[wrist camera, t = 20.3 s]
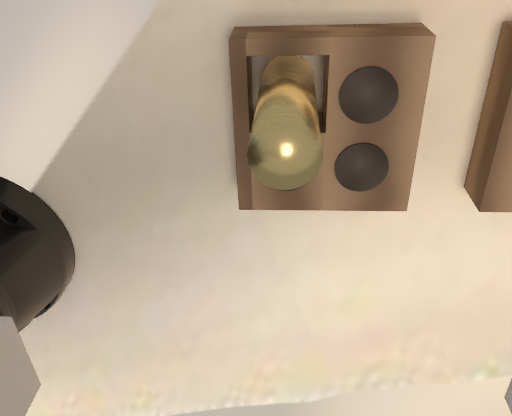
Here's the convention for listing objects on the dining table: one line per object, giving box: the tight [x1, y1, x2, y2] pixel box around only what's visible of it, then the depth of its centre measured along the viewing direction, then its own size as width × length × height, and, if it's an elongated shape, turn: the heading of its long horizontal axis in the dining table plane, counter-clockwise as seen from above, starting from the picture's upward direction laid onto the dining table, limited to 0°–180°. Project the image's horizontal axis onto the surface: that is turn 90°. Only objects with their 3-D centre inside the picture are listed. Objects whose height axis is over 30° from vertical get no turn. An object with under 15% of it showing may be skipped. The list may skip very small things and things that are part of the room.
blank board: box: [229, 23, 436, 211], centre depth 32 cm, size 12×12×4 cm
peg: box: [247, 55, 323, 190], centre depth 27 cm, size 4×4×12 cm
